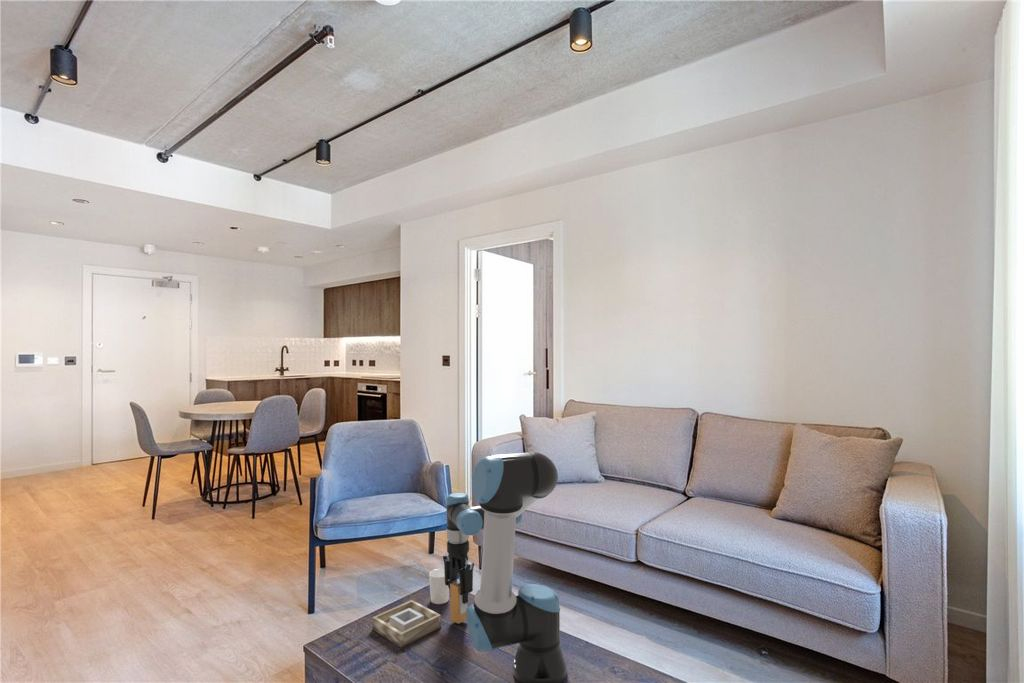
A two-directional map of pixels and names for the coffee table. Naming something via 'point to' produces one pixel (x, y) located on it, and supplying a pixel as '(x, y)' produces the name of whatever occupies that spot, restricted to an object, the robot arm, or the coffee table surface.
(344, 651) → the coffee table surface
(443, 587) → the white cup
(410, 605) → the box
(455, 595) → the connector
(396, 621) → the socket
